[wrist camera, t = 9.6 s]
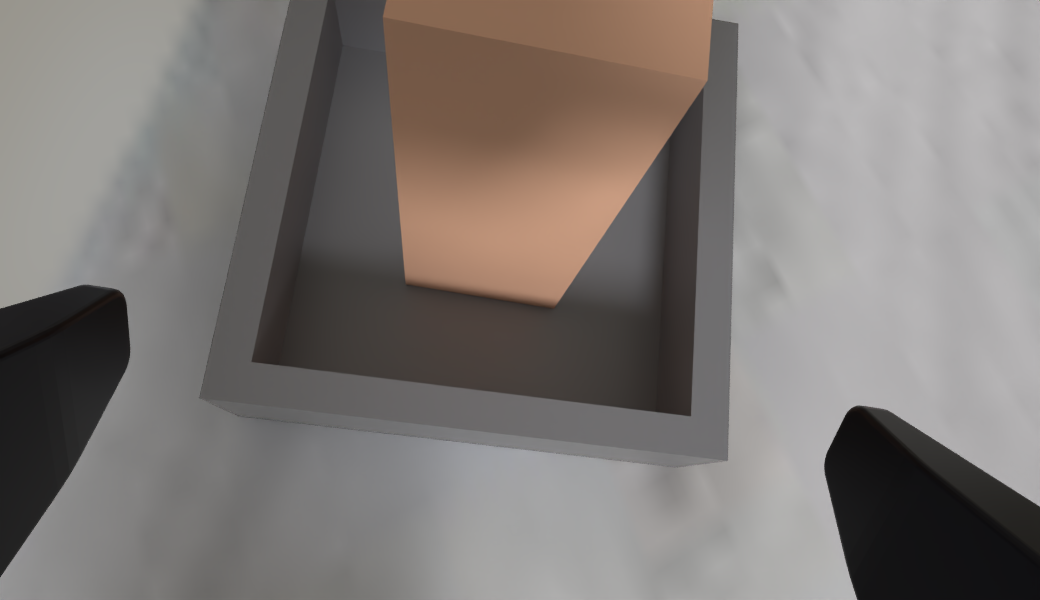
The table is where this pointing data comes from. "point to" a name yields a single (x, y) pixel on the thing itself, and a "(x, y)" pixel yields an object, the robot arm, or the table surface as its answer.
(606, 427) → the box
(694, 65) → the terracotta block
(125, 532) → the table surface
